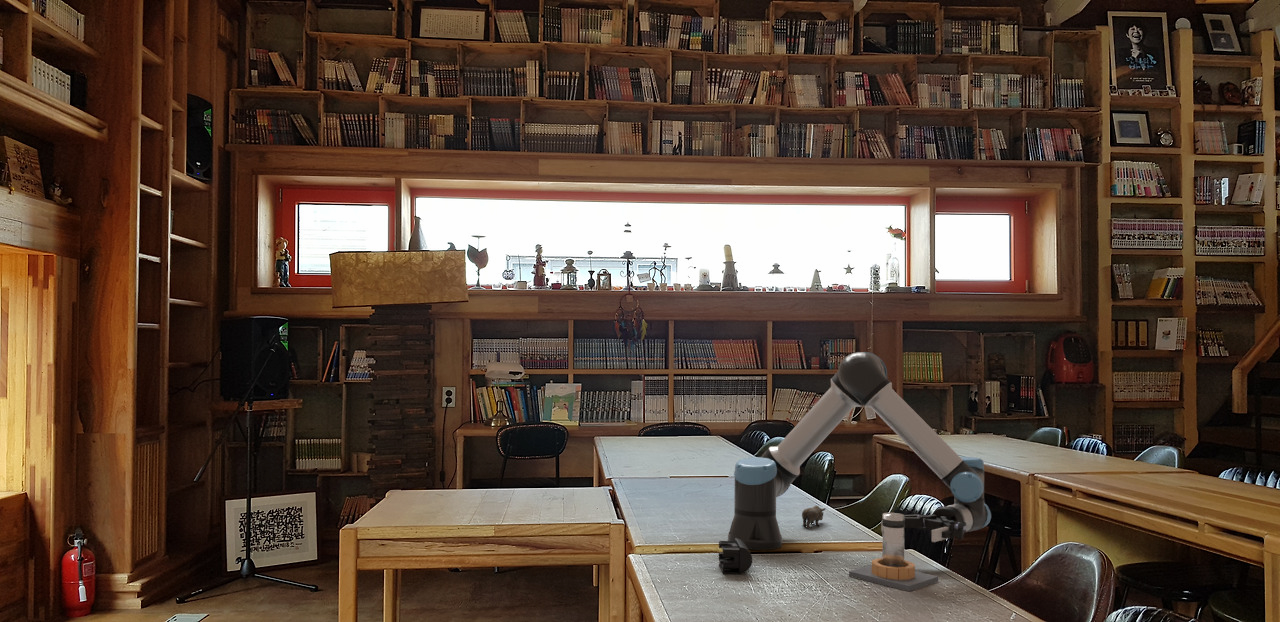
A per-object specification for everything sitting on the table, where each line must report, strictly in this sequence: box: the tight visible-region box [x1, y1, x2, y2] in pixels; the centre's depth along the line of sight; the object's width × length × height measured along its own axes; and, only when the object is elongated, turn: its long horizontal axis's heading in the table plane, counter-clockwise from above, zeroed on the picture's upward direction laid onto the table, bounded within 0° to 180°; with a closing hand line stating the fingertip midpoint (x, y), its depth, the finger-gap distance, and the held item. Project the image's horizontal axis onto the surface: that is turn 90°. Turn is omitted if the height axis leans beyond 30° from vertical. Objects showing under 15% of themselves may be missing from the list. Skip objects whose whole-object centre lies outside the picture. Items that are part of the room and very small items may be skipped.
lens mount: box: [848, 557, 939, 592], centre depth 193 cm, size 16×13×4 cm
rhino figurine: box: [801, 505, 826, 529], centre depth 255 cm, size 4×14×6 cm, turn 143°
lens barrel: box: [881, 512, 905, 567], centre depth 194 cm, size 5×5×14 cm
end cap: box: [718, 538, 753, 576], centre depth 199 cm, size 10×7×7 cm
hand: (907, 531), depth 197 cm, fingers open, 13 cm apart
